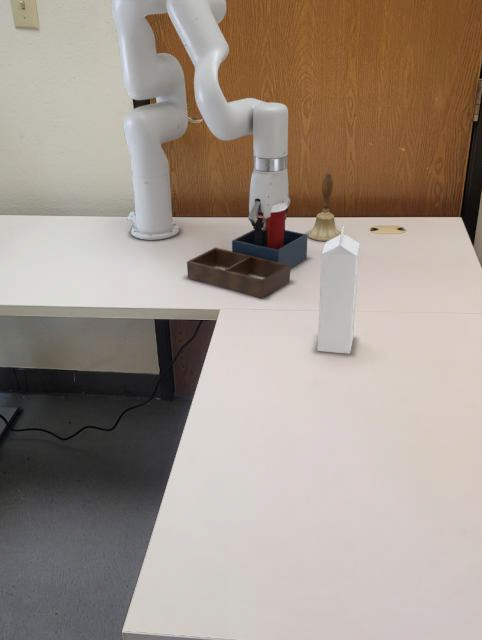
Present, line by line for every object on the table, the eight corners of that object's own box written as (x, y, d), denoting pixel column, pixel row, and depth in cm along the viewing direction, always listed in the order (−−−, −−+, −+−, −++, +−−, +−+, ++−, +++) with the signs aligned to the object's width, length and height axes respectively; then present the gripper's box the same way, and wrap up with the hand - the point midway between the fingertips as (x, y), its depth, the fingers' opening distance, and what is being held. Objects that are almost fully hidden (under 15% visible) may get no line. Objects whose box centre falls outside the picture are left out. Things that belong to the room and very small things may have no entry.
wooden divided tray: (187, 278, 163) (186, 261, 161) (215, 263, 170) (215, 247, 168) (263, 298, 152) (263, 281, 150) (289, 281, 160) (290, 264, 158)
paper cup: (286, 254, 173) (287, 196, 166) (285, 266, 166) (287, 206, 159) (254, 253, 174) (254, 196, 166) (252, 265, 167) (251, 206, 160)
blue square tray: (232, 265, 169) (231, 240, 166) (262, 248, 178) (262, 225, 175) (278, 276, 163) (278, 250, 160) (306, 258, 171) (307, 234, 168)
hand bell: (342, 231, 187) (345, 169, 179) (339, 242, 180) (342, 178, 172) (310, 229, 189) (312, 168, 181) (306, 240, 182) (308, 177, 174)
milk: (317, 351, 132) (321, 235, 121) (321, 336, 137) (325, 224, 126) (350, 354, 131) (358, 237, 119) (353, 339, 136) (361, 225, 124)
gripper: (277, 152, 166) (276, 227, 176) (233, 170, 154) (235, 249, 164) (305, 156, 162) (303, 233, 172) (262, 174, 151) (262, 255, 160)
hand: (269, 240), depth 168 cm, fingers closed on paper cup, 6 cm apart
